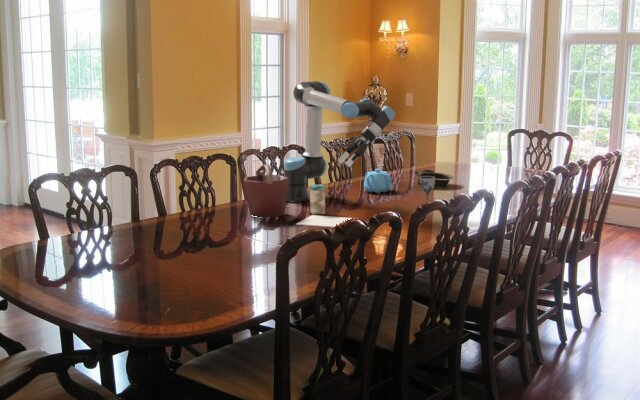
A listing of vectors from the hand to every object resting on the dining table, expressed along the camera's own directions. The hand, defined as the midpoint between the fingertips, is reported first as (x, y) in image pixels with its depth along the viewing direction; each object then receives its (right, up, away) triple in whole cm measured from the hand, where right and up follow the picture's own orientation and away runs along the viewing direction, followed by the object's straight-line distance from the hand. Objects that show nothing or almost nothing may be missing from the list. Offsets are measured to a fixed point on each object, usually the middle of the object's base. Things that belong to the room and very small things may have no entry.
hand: (343, 163), depth 344 cm
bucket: (-38, -26, -3) cm, 46 cm away
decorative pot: (+22, -14, +58) cm, 63 cm away
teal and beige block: (-13, -25, 0) cm, 28 cm away
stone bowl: (+59, -10, +74) cm, 95 cm away
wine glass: (+45, -21, +17) cm, 52 cm away
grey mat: (-8, -29, -20) cm, 36 cm away
